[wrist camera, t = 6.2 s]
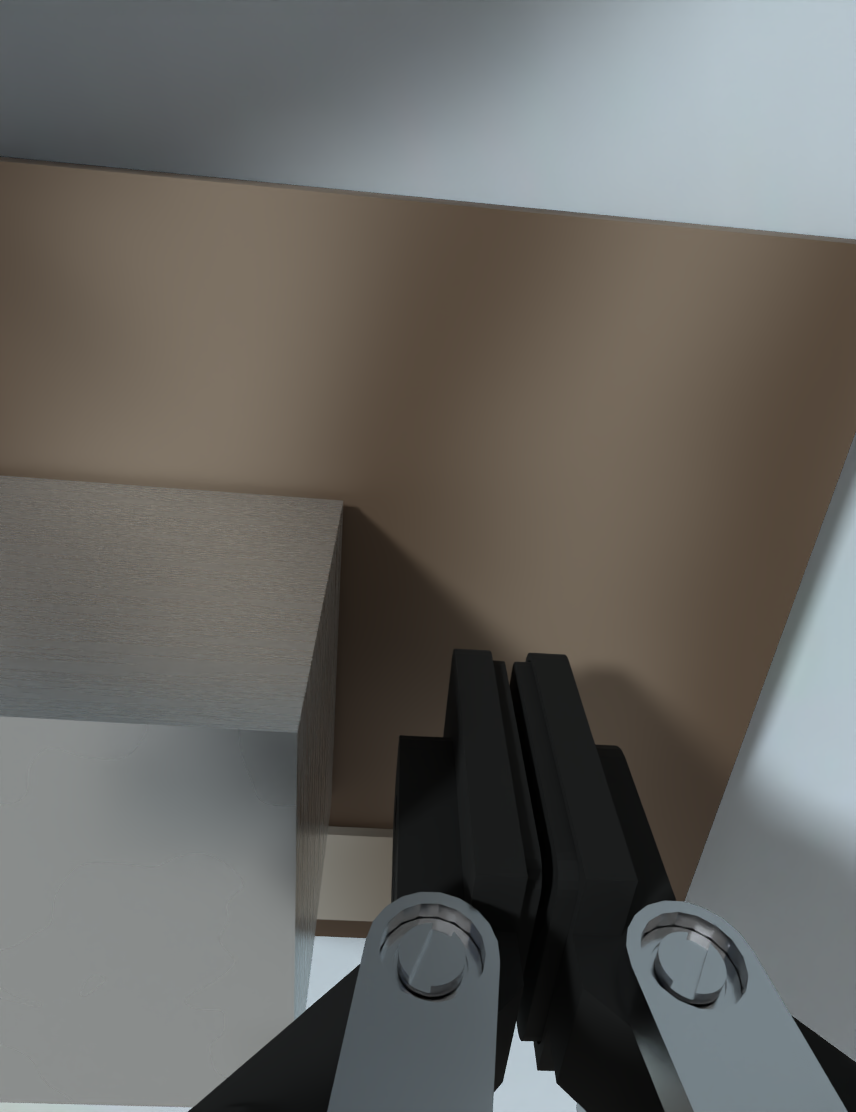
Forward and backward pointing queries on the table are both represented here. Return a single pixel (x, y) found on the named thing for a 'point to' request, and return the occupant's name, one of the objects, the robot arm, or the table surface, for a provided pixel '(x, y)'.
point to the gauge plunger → (159, 781)
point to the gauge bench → (458, 442)
